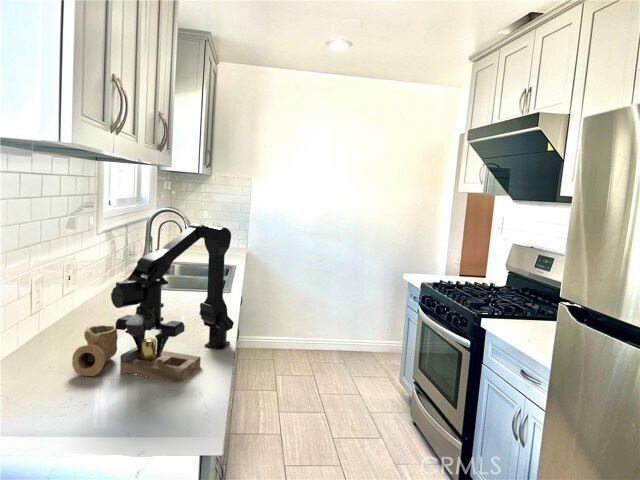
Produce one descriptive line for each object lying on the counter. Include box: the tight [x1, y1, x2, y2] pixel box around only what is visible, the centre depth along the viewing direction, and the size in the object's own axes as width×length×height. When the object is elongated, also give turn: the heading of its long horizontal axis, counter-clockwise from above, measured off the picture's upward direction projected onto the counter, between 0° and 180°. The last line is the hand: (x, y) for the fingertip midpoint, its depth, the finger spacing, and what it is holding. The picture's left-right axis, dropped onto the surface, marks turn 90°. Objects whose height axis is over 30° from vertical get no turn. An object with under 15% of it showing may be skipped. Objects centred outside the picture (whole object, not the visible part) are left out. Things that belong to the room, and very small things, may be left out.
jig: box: [119, 346, 202, 383], centre depth 134 cm, size 12×18×5 cm, turn 77°
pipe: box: [71, 324, 119, 377], centre depth 133 cm, size 9×16×10 cm, turn 7°
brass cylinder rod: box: [141, 337, 157, 362], centre depth 135 cm, size 4×4×8 cm
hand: (149, 354), depth 135 cm, fingers open, 5 cm apart
